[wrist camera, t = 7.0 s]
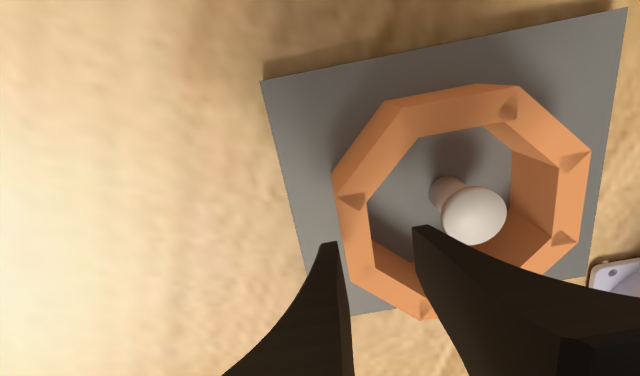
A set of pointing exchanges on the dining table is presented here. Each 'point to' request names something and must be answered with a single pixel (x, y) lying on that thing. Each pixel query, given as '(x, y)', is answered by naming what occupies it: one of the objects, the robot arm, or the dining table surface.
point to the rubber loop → (525, 189)
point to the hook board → (443, 136)
